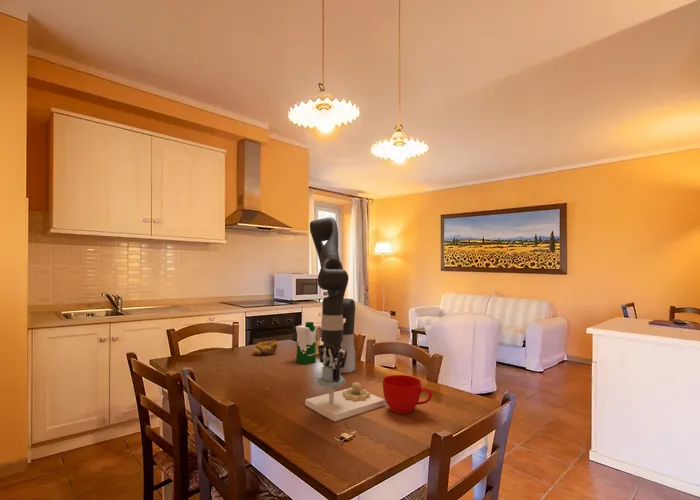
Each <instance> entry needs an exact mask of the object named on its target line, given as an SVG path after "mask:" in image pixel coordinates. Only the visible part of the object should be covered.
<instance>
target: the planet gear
mask: <svg viewBox="0 0 700 500" xmlns="http://www.w3.org/2000/svg"><path fill="white" fill-rule="evenodd" d="M341 374H342V373H341V368H340V375H339V376H340V377H339V380H336V381H334V380H333V364H330V365H329V366H324V365H323V366H322V374H321V377H317V378H316V383H317V384H319V386H318V387H323V388H328V389H333V388H341V386H344V385H346V384H347V379H346V378H344V376H341Z"/></svg>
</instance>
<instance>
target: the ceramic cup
mask: <svg viewBox="0 0 700 500" xmlns="http://www.w3.org/2000/svg"><path fill="white" fill-rule="evenodd" d="M382 390H383V391H382V392H383V397H384V399H385V404H386V405H387V406H388V407H389V409H390V410H391V411H392V412H393V413H394V414H398V415H408V414H411V413H412V411H413V410H414V409H416V408H417V406H418V405H424V404H427V403H428V402H430V400H432V395H433V394H432V391H431V390H430V389H429V388H427V387H424V388H422V381H421V379H420V378H418V377H415V376H410V375H405V374H395V375H394V374H393V375H388V376H386V377H383V379H382ZM422 392H427V394H428V397H427V399H425V400H424V401H423V400H422V401H420V398H421V393H422Z"/></svg>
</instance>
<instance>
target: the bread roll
mask: <svg viewBox="0 0 700 500" xmlns="http://www.w3.org/2000/svg"><path fill="white" fill-rule="evenodd" d="M278 346H279V345H278V341H277V340H276V339H273V340H270V341H269V340H268V341H260V342H257V344H256V345H255V348H254V350H253V355H254V356H259V357H260V356H261V355H262V356H264V355H265V356H271V355H274V354H275V353H276V350H277V349H278Z"/></svg>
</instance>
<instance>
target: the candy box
mask: <svg viewBox="0 0 700 500" xmlns="http://www.w3.org/2000/svg"><path fill="white" fill-rule="evenodd" d="M314 326H317V329H316V334H315V355H319V351H318V346H319V345H321V325H319V324H316V325H315V324H314Z"/></svg>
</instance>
